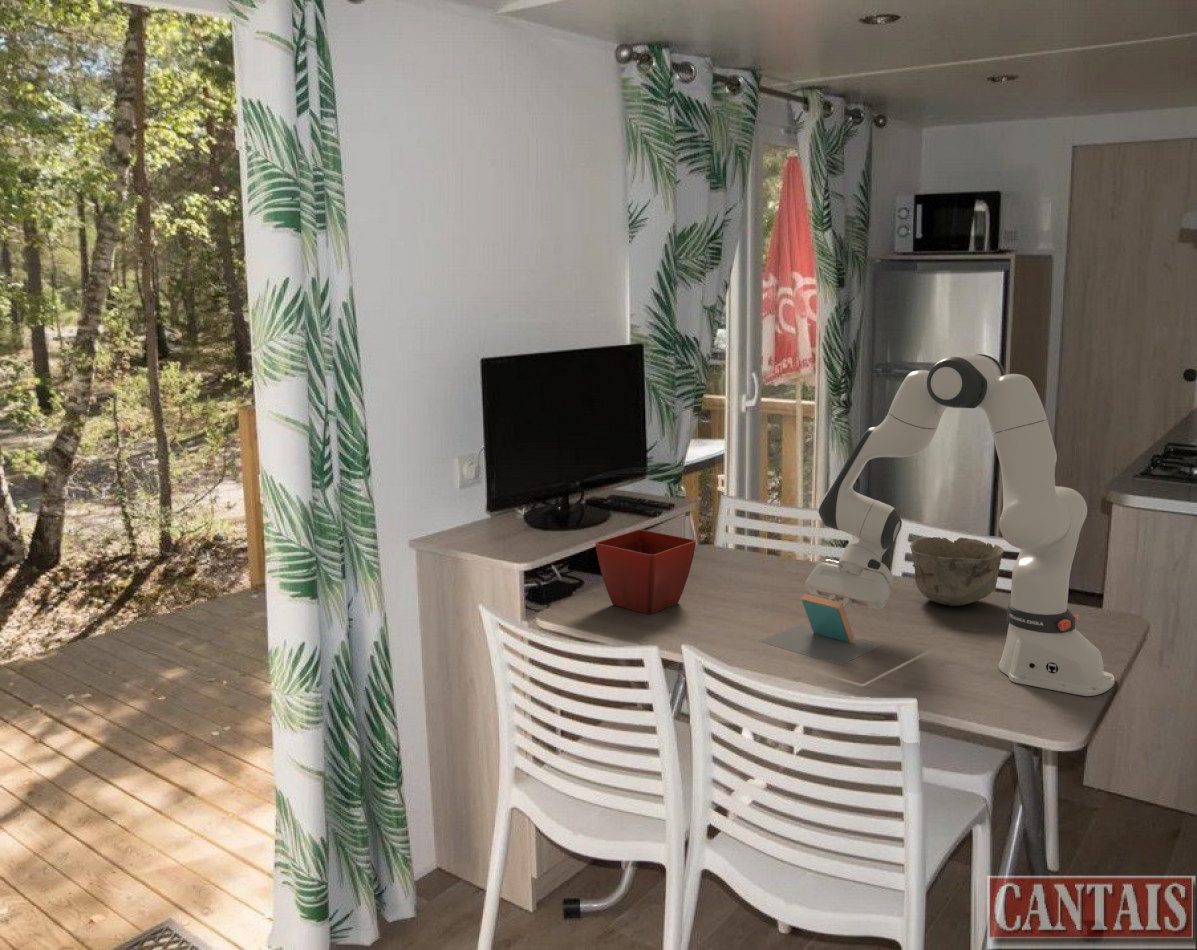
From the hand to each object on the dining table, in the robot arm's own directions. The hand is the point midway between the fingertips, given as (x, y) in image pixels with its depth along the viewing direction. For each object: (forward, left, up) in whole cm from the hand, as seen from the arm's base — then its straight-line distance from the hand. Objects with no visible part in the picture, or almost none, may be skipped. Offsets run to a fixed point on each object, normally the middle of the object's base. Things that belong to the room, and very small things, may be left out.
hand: (833, 615), depth 248 cm
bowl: (-7, -44, -6) cm, 45 cm away
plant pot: (+50, +10, -6) cm, 51 cm away
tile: (0, 0, -5) cm, 5 cm away
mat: (0, +5, -6) cm, 8 cm away
